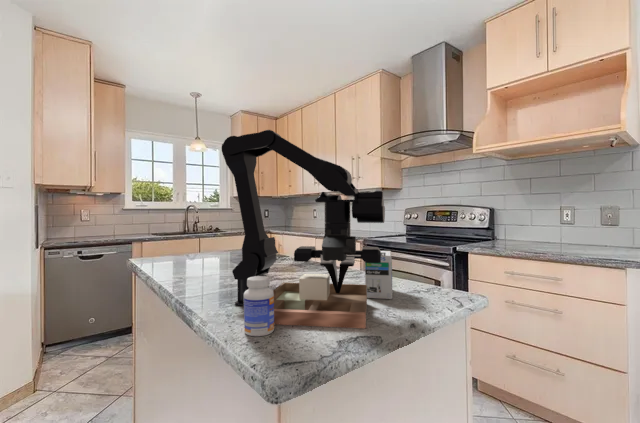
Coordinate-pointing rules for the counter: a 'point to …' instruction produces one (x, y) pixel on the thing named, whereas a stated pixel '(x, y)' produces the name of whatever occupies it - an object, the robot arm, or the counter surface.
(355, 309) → the tray
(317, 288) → the cream block
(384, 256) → the light bulb box
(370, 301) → the counter surface
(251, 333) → the pill bottle
